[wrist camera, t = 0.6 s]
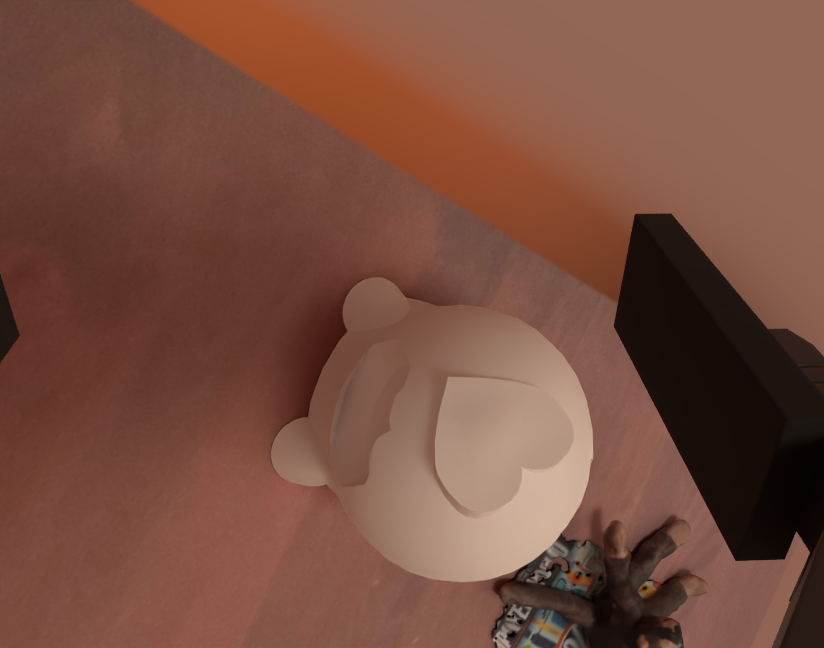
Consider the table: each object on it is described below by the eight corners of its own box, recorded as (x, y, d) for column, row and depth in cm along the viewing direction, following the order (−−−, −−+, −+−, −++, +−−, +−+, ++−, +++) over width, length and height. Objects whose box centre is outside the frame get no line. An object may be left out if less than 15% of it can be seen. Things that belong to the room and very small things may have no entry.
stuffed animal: (711, 634, 50) (678, 781, 40) (568, 606, 55) (507, 731, 45) (702, 475, 47) (663, 594, 37) (550, 461, 52) (481, 562, 42)
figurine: (516, 337, 40) (750, 412, 27) (427, 529, 40) (620, 700, 27) (344, 245, 35) (531, 283, 22) (239, 464, 35) (364, 639, 22)
